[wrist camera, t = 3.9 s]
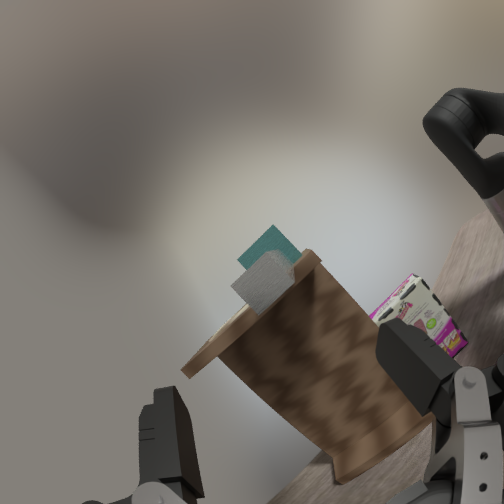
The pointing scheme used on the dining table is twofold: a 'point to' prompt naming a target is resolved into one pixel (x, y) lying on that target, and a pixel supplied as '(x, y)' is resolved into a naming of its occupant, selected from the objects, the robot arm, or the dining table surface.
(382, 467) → the dining table surface
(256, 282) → the grey and teal bar
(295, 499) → the dining table surface
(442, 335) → the candy bar box
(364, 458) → the bracket shelf
